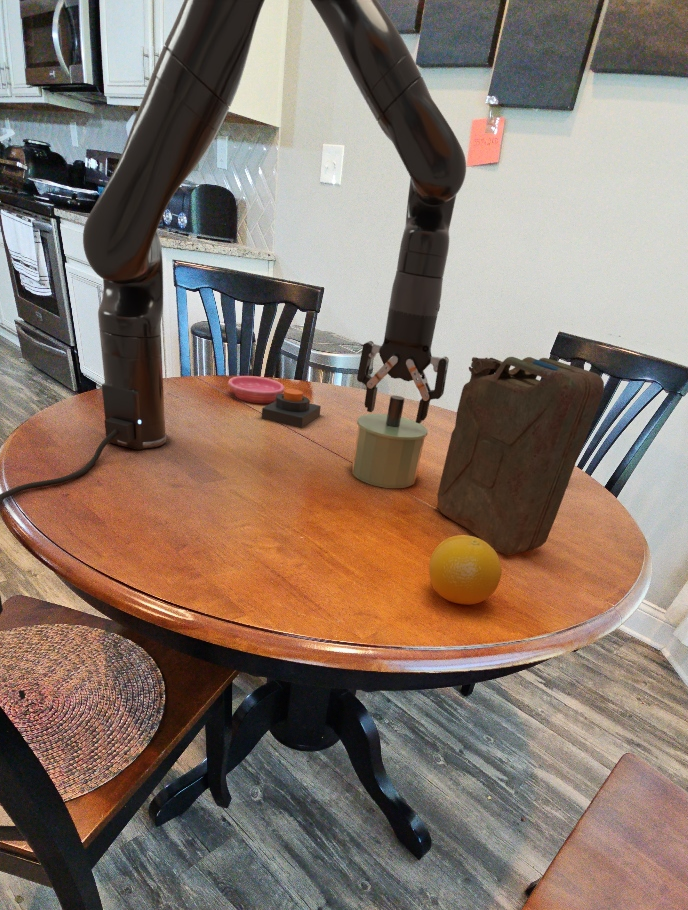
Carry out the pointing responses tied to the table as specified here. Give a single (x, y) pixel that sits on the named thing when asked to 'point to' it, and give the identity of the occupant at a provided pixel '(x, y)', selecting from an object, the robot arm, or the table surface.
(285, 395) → the button
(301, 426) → the button block
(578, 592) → the table surface
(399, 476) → the pot
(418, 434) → the lid
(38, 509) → the table surface
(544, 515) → the canister
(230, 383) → the saucer
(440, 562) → the fruit
